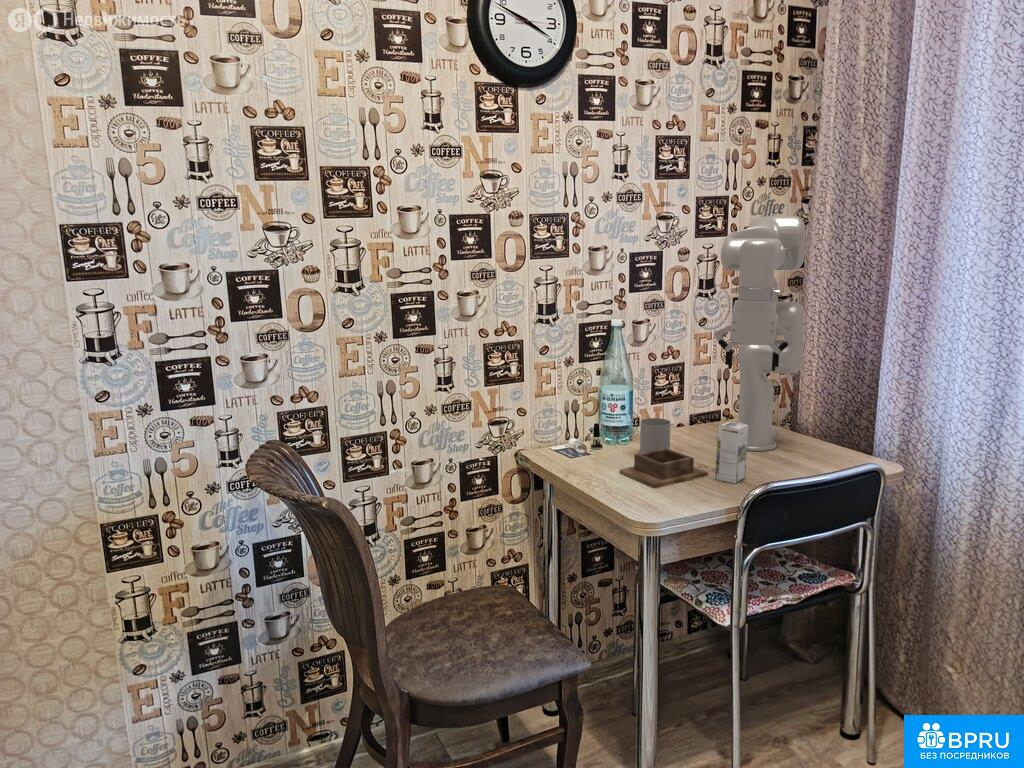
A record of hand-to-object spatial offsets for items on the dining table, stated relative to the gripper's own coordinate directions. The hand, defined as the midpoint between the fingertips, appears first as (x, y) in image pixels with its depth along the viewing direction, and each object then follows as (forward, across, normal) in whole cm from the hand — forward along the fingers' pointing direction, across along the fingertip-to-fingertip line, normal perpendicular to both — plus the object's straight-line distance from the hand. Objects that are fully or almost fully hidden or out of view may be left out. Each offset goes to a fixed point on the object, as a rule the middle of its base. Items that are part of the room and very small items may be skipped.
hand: (751, 369), depth 175 cm
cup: (+32, +26, -26) cm, 49 cm away
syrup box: (+31, +4, -12) cm, 34 cm away
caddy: (+31, +21, -11) cm, 39 cm away
